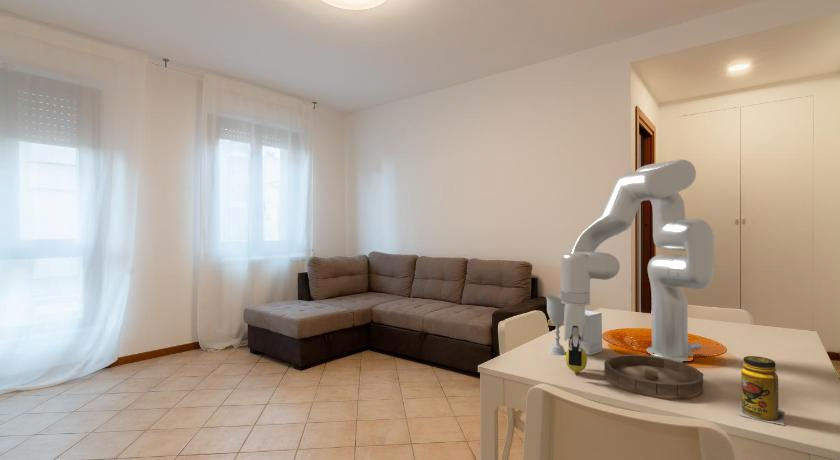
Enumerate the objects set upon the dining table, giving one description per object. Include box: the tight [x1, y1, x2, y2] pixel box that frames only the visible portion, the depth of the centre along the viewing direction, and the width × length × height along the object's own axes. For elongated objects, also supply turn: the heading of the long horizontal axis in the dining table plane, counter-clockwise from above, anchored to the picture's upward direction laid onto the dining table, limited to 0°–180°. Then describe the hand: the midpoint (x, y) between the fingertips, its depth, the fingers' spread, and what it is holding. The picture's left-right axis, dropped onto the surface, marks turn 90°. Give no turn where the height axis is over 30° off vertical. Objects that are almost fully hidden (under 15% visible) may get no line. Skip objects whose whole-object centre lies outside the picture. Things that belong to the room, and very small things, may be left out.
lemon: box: [565, 346, 588, 374], centre depth 111 cm, size 6×6×8 cm
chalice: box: [544, 294, 567, 356], centre depth 129 cm, size 7×7×18 cm
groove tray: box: [603, 354, 704, 401], centre depth 105 cm, size 22×22×4 cm
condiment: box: [738, 355, 785, 426], centre depth 86 cm, size 7×8×12 cm
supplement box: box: [581, 309, 603, 356], centre depth 131 cm, size 7×7×13 cm
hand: (574, 359), depth 111 cm, fingers open, 9 cm apart
